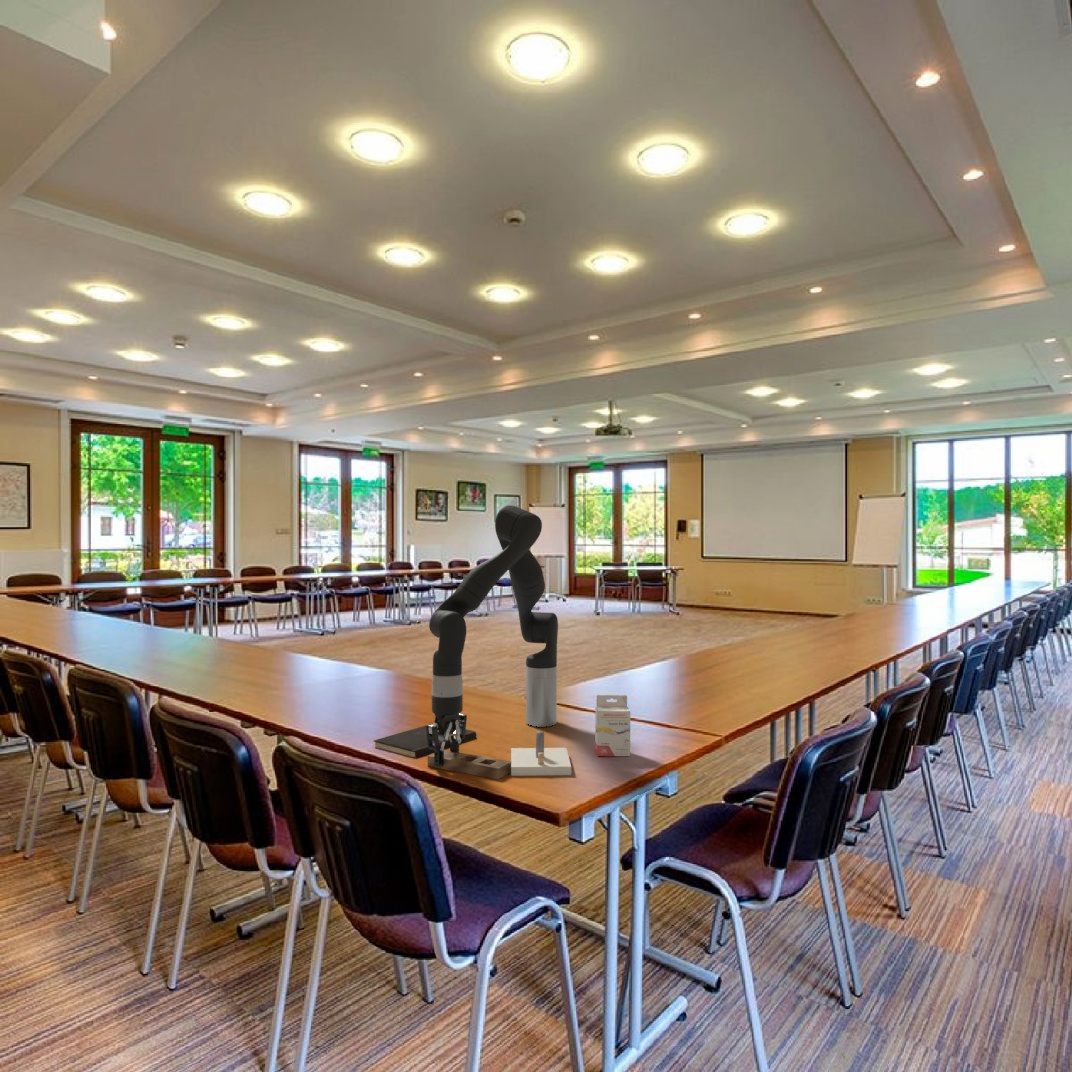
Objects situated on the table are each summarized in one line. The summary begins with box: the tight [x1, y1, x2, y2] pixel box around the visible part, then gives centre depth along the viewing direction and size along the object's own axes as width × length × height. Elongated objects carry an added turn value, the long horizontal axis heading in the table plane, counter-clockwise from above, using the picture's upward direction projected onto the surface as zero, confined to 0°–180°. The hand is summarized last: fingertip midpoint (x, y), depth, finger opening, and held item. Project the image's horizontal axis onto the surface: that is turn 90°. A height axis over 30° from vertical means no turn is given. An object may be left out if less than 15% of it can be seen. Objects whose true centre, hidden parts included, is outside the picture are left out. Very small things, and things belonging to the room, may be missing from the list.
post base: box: [510, 730, 572, 777], centre depth 169 cm, size 15×14×8 cm
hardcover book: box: [373, 722, 477, 759], centre depth 188 cm, size 16×23×2 cm
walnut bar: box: [427, 749, 511, 780], centre depth 166 cm, size 20×6×2 cm, turn 62°
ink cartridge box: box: [594, 694, 631, 757], centre depth 178 cm, size 9×5×15 cm, turn 92°
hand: (447, 761), depth 169 cm, fingers closed on walnut bar, 5 cm apart
